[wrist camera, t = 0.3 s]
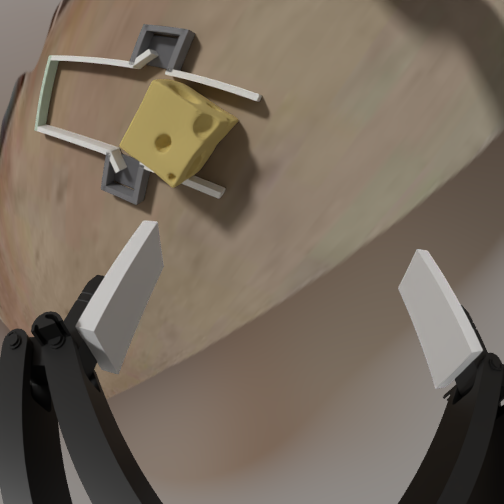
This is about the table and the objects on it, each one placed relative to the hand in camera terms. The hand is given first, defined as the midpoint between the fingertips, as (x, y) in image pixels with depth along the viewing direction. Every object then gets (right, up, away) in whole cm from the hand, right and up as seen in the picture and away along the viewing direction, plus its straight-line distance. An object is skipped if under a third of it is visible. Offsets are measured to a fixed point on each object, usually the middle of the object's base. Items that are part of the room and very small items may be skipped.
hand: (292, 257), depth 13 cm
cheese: (-11, +19, +24) cm, 32 cm away
